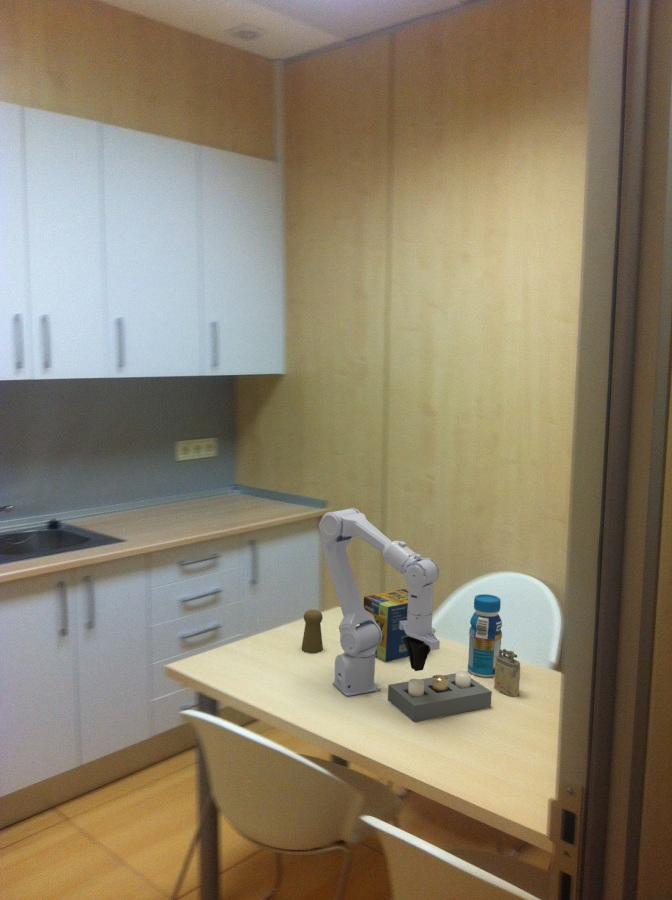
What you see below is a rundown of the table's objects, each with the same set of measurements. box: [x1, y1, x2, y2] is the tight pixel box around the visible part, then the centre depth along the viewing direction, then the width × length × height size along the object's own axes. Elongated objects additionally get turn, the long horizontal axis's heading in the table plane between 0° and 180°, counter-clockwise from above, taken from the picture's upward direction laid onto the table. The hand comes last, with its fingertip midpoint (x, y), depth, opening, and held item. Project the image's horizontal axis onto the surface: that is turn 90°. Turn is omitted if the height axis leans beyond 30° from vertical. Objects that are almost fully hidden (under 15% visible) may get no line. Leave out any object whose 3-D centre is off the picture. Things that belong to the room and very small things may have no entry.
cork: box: [301, 609, 324, 654], centre depth 210 cm, size 6×6×11 cm
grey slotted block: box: [387, 672, 493, 723], centre depth 179 cm, size 21×12×4 cm, turn 115°
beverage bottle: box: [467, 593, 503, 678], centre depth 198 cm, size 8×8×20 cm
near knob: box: [408, 678, 425, 698], centre depth 176 cm, size 4×4×4 cm
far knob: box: [455, 670, 472, 689], centre depth 181 cm, size 4×4×4 cm
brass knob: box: [432, 674, 448, 693], centre depth 178 cm, size 4×4×4 cm
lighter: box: [493, 648, 521, 697], centre depth 187 cm, size 7×4×10 cm, turn 33°
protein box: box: [363, 588, 409, 663], centre depth 210 cm, size 10×15×16 cm
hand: (417, 669), depth 175 cm, fingers closed
